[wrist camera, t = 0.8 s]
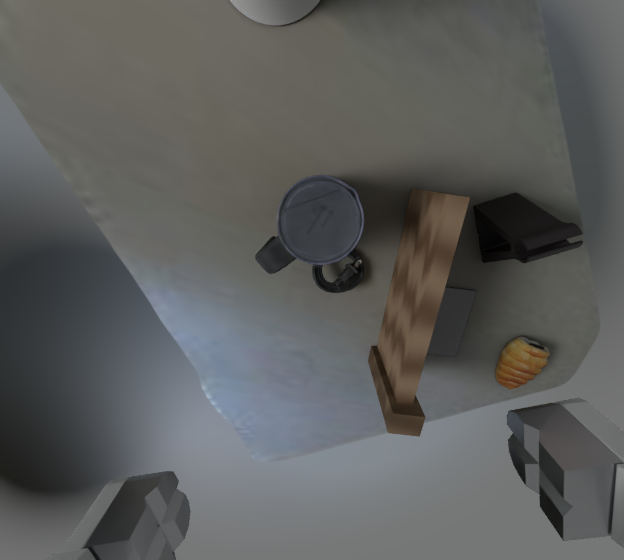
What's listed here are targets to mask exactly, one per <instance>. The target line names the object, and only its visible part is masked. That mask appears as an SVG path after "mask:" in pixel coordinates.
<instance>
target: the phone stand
mask: <svg viewBox="0 0 624 560" xmlns="http://www.w3.org/2000/svg"><path fill="white" fill-rule="evenodd" d="M473 209H474V215H475V221H476V227H477V232H478V238H479V244H480V250H481V256H482V261H483V263H486V262H493V261H500V260H507V259H517V260H519V261H521V262H522V263H527V262H530V261H534V260H537V259H540V258H544V257H547V256H551V255H554V254H557V253H561V252H564V251H568V250H571V249H574V248H578V247H580V246H581V245H582V243H583V241H578V242H574V243H571V244H570V243H569V242H568V241H567V238H571V237H574V236H577V235H581V234H582V231H581V230H580V228H579V227H578V226H577V225H575V224H573V223H565V222H562V221H560V220H558V219H557V218H555V217H554V216H552V215H550V214H549V213H547V212H546V211H544V210H543V209H541V208H540V207H538V206H536V205H535V204H533V203H532V202H530V201H529V200H527V199H526V198H524V197H522V196H521V195H519V194H518V193H513V194H510V195H507V196H504V197H500V198H497V199H494V200H491V201H488V202H485V203H482V204H478V205H475V206H473Z"/></svg>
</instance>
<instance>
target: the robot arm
mask: <svg viewBox="0 0 624 560" xmlns="http://www.w3.org/2000/svg"><path fill="white" fill-rule="evenodd" d="M230 1H231V2H232V4H233V5H234V6H235V7H236V8H237V9H238V10H239V11H240V12H241V13H243V14H244V15H245V16H247V17H248V18H250V19H252V20H254V21H256V22H259V23H262V24H266V25H285V24H289V23H292V22H295V21H297V20H299V19H301V18H302V17H304V16H305V15H307V14H308V13H309V12H310V11H311V10H313V9H314V7H315V6H316V5H317V4H318V3H319V1H320V0H230ZM507 425H508V426H509V428H510V429H511V431H512V432H513V434H512V435H511V436H510V438H509V439H508V446H509V453H510V456H511V459H512V462H513V465H514V467H515V469H516V470H517V473H518V474H519V476H520V478H521V479H522V481H523V482H524V484H525V485H526V486H527V487H528V488H530V489H532V490H533V491H535V492H536V493H538V494H540V507H541V509H542V510H543V512H544V513H545V515H546V516H547V518H548V519H549V521H550V522H551V523H552V525H553V526H554V528H555V529H556V531H557V532H558V534H559V535H560V537H561V538H562V540H563V541H567V540H577V539H585V538H595V537H604V536H611V539H612V540H614V541H615V542H616V543H618V544H619V545H621V546H622V547H623V548H624V432H623V431H622V430H621V429H620V428H618V427H617V426H616V425H615V424H614V423H612V422H611V421H610V420H609V419H608V418H606V417H605V416H604V415H603V414H601V413H600V412H599V411H598V410H597V409H595V408H594V407H593V406H592V405H590V404H589V403H588V402H587V401H586V400H583V399H581V398H575V399H569V400H564V401H559V402H555V403H548V404H543V405H537V406H532V407H527V408H521V409H516V410H511V411H508V414H507ZM178 482H179V481H178V479H177V477H176V475H175V473H174V472H172V471H166V472H159V473H152V474H145V475H139V476H132V477H128V478H121V479H114V480H112V481H111V482H109V483H108V484H106V486H105V487H104V489H103V490H102V491H101V493H100V494H99V496H98V497H97V499H96V500H95V502H94V503H93V504H92V506H91V508H90V509H89V510H88V512H87V513H86V515H85V516H84V518H83V519H82V520H81V522H80V524H79V525H78V526H77V528H76V529H75V531H74V532H73V534H72V535H71V537H70V538H69V539H68V541H67V542H66V544H65V545H64V547H63V548H62V550H61V551H60V553H55V554H52V555H51V556H50V557H49V558H48V559H46V560H176V557H175V553H174V550H175V549H176V548H177V547H178V546H179V545H180V544H181V543H182V541H183V540H184V539H185V535H186V533H187V530H188V527H189V519H190V506H189V501H188V499H187V497H186V495H185V494H184V493H182V492H181V491H179V490H177V489H176V488H177V485H178Z"/></svg>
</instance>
